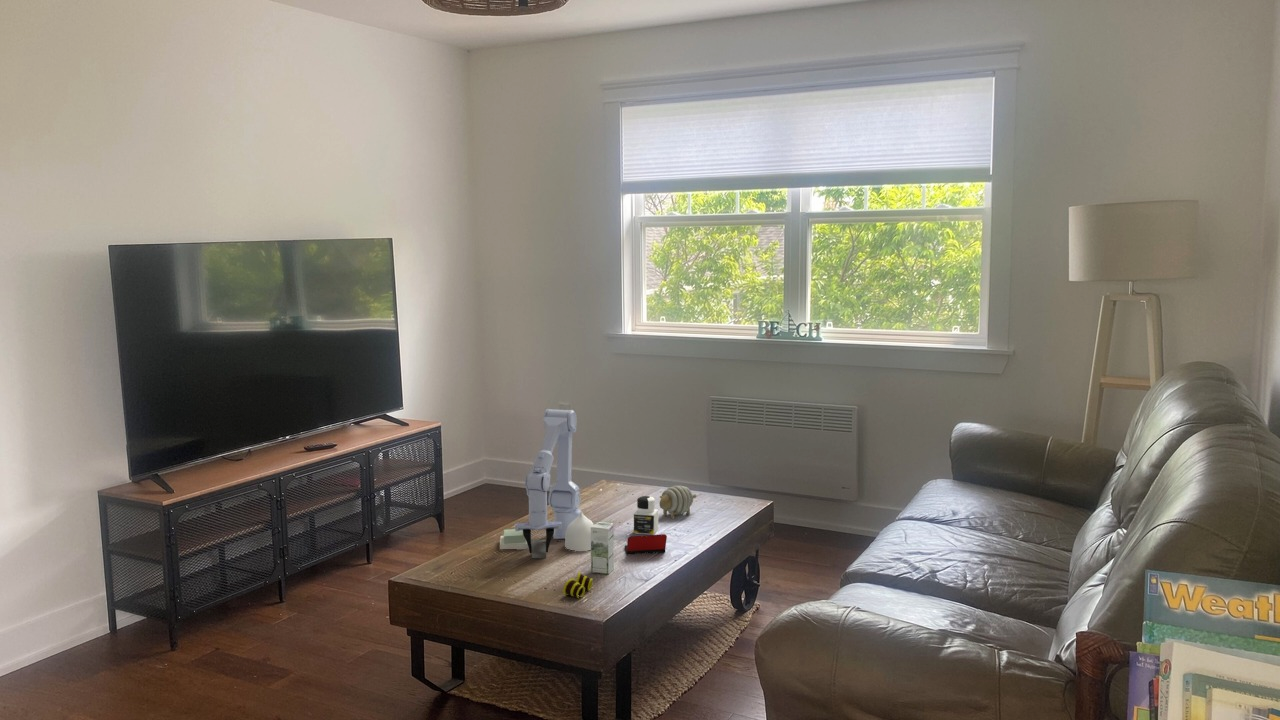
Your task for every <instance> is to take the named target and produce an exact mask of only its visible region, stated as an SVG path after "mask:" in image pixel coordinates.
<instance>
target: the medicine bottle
mask: <svg viewBox="0 0 1280 720" xmlns="http://www.w3.org/2000/svg"><path fill="white" fill-rule="evenodd" d="M636 505H637V507H636V508H637V509H636V510H635V512H634V513H633V533H634V534H638V535H656V534H655V533H657V531H658V529H659V509H658V508H656V506H655V505H656V499H655V498H654V497H653V496H650V495H644V496H643V495H642V496H640V497H637V500H636Z"/></svg>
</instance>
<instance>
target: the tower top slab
mask: <svg viewBox="0 0 1280 720" xmlns="http://www.w3.org/2000/svg"><path fill="white" fill-rule="evenodd" d="M503 536H504V544H508V543H526V539H525V537H524V535H523V530H519V531H515V528H511V529H503Z"/></svg>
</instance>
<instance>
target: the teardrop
mask: <svg viewBox="0 0 1280 720" xmlns="http://www.w3.org/2000/svg"><path fill="white" fill-rule="evenodd" d="M593 524H594V523H593V521H592V519H590V518H587V516H585V514H584V512H583V511H582V510H581V512H580V514H579V516H578V517H577V518H576V519H575V520H573V521H572V522H571V523H570V524H569V526H568V527H567V530H566V534H565V538H564V540H565V542H564V548H565V547H566V548H567V549H570V550H575V551H574V552H576V551H586V552H588V551H587V550H591V526H592V525H593ZM566 548H565V549H566ZM567 549H566V550H567ZM570 550H569V551H570Z"/></svg>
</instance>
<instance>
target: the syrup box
mask: <svg viewBox="0 0 1280 720" xmlns="http://www.w3.org/2000/svg"><path fill="white" fill-rule="evenodd" d="M614 525H615V524H614V523H613V522H603V521H602V522H601V521H600V522H599V521H595V522H594V523H593V525H592V526H591V551H590V570H591V571H590V573H591V574H599V573H600V574H601V575H602V574H603V575H610V573H611V572H612V571H613V570H614V568H615V558H614V557H615V556H614V555H615V552H614V551H615V550H614V547H615V546H614V542H615V539H614V537H615V536H614V534H615V532H614V531H615V528H614V527H615V526H614Z"/></svg>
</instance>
